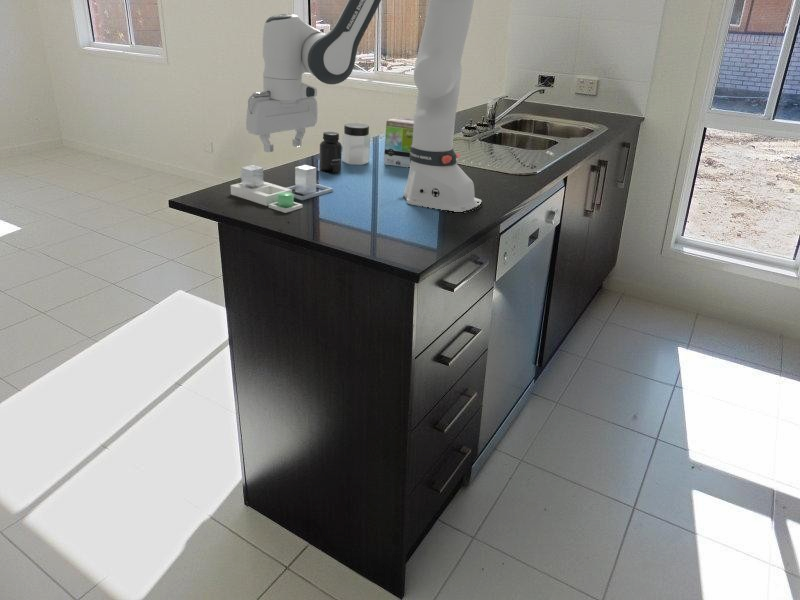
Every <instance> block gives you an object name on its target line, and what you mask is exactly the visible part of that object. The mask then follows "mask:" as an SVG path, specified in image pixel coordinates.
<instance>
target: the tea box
mask: <svg viewBox="0 0 800 600" xmlns="http://www.w3.org/2000/svg"><path fill="white" fill-rule="evenodd" d="M413 126H414V117H413V118H411V117H403V116H396V115H394V116H393V117H391V118H389V119H388V120H386V124H385V138H384V139H385V140H384V155H383V156H384V157H383V165H384V166H386V165H388V166H395V167H404V168H408V167H410V148H411V145H412V140H413Z"/></svg>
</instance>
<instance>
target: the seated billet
mask: <svg viewBox="0 0 800 600" xmlns="http://www.w3.org/2000/svg"><path fill="white" fill-rule="evenodd" d="M240 177H241V183H242V186H243V187H247V188H250V189H255V188H259V187H263V186H264V182H265V181H264V167H261V166H257V165H254V164H252V165H247V166H242V167H240ZM263 181H264V182H263Z"/></svg>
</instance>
